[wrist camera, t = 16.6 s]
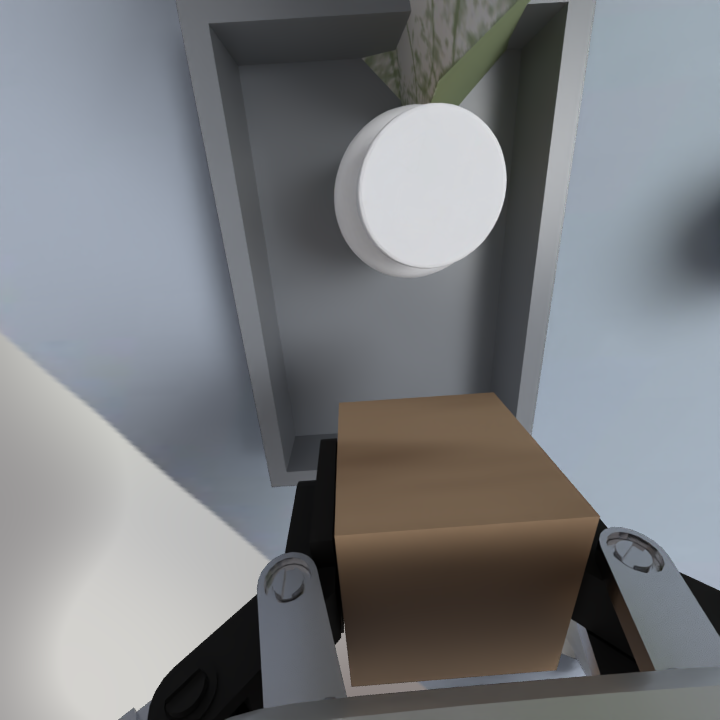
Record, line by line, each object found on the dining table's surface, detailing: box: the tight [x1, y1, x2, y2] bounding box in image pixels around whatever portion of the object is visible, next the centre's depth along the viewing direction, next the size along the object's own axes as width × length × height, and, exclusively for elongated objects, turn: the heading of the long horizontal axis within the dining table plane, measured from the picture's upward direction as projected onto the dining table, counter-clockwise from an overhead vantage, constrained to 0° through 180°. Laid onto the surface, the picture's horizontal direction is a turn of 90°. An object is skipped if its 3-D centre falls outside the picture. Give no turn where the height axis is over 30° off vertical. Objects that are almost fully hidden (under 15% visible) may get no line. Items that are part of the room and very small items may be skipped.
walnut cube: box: [335, 392, 600, 687], centre depth 10 cm, size 5×5×5 cm
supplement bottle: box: [334, 103, 507, 278], centre depth 14 cm, size 5×5×10 cm
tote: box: [176, 0, 596, 487], centre depth 18 cm, size 22×15×4 cm
